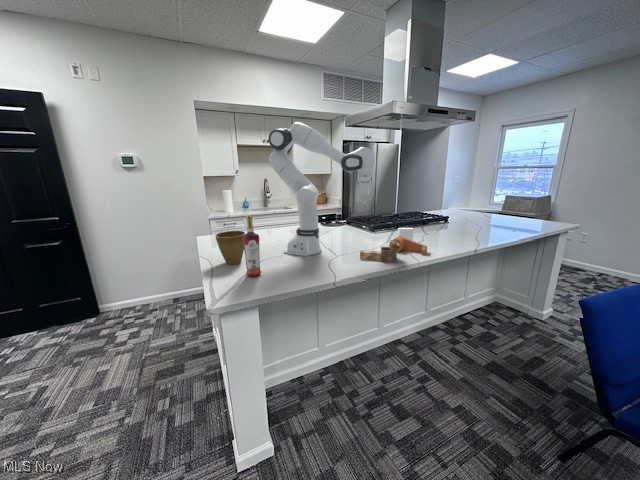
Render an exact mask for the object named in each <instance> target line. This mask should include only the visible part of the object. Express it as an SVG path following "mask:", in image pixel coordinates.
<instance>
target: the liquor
mask: <svg viewBox="0 0 640 480" xmlns="http://www.w3.org/2000/svg"><path fill="white" fill-rule="evenodd" d="M245 219H246V233H245V235H244V236H243V237H242V238H243V245H244V252H243V253H244V257H245V258H244V259H245V265H246V275H247V276H249V277H250V278H257V277H259V276H260V275H261V273H262V271H261V264H260V263H261V261H260V260H261V258H260V235H259V234H258V233H255V232H254V226H253V216H252V215H246V216H245Z"/></svg>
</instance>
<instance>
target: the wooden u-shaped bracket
mask: <svg viewBox="0 0 640 480" xmlns="http://www.w3.org/2000/svg"><path fill="white" fill-rule="evenodd" d="M390 242H391V247H389V246H380V251H381V260H380V262H381V263H382V262H383V263H395V264H396V263H397V259H398V258H397V256H398V255H397V254H398V252H397V240H393V239H391V240H390Z"/></svg>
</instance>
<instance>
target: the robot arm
mask: <svg viewBox="0 0 640 480" xmlns="http://www.w3.org/2000/svg"><path fill="white" fill-rule="evenodd" d="M268 144H269V145H270V146H271V148H272V149H273V150H272V152H271V153H270V154H269V156H268V162H269V165H270V166H271V167H272V169H273V171H274V172H275V173H276V174H277V176H278V177H279V178H280V179H281V180H282V181H283V183H284V184H285V185H286V186H287V187H288V188H289V189H291V191H292V192H294V193H295V194H296V202H297V203H296V205H297V209H298V210H297V211H298V219H299V222H298V223H299V227H298V228H297V229H296V230H295V233H296V234H295V235H294V236H293V237H292V238H290V239H289V240H288V243H287V246H286V247H284V249H283V253H284V254H289V255H294V256H295V255H296V256H305V257H307V256H311V255H317V254H319V253H321V252H322V248H321V244H320V227H319V213H318V199H319V196H320V195H319V190H318V189H317V187H316V186H315V185H314V183H312V181H310V180H309V178H307V176H305V175H304V173H303V172H302V171H301V169H299V167H298V166H297V164H295V163H294V162H293V161H292V159H291V157H290V156H289V154H290V151H291V149H292V148H293V147H294V145H295V144H296V145H298V146H299V147H302V148H303V149H305V150H307V151H309V152H311V153H314V154H318V155H321V156H322V155H323V156H325V157H327V158H328V159H330V160H333V161H334V162H336V163H338V165H339V166H340V167H341V168H342V170H343V171H345V172H346V173H349V174H351V173H354V172H355V171H357V181H358V182H359V191H360V197H362V205H366V204H367V202H368V196H369V194H370V185H372V182H374V181H375V170H374V169H375V168H374V167H375V164H376V163H375V162H376V161H375V156H376V155H375V151H374V149H373V148H372V147H369V146H360V147H359V148H358V149H355V150H353V151H352V152H350V153H344V152H343V151H341V150H339V149H337V148H336V147H334V146H333V145H332V144H330V142H328V141H327V139H326V138H325V136H324V135H323V134H321V133H320V132H319V131H318V130H316V129H315V128H312V127H311V126H309V125H307V124H305V123H302V122H298V121H296V122H294V123H292V124H291V126H290V127H289V128H275V129H273V130H271V132H269V135H268Z"/></svg>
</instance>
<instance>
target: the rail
mask: <svg viewBox="0 0 640 480" xmlns="http://www.w3.org/2000/svg"><path fill="white" fill-rule="evenodd" d="M359 259H360V260H367V261H368V260H369V261H370V260H371V261H372V260H373V261H381V250H363V249H362V250H360V251H359Z"/></svg>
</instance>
